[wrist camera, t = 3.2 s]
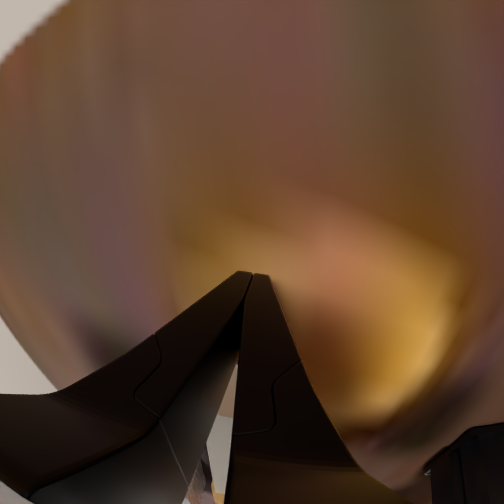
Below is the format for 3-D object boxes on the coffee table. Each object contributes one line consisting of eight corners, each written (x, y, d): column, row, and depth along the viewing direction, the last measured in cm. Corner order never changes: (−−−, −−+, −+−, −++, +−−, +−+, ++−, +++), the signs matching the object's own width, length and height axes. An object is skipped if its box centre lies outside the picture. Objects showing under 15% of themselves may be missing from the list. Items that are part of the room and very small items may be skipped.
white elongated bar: (207, 358, 12) (183, 427, 9) (289, 372, 12) (280, 446, 9) (219, 477, 20) (210, 511, 18) (259, 484, 20) (252, 518, 17)
